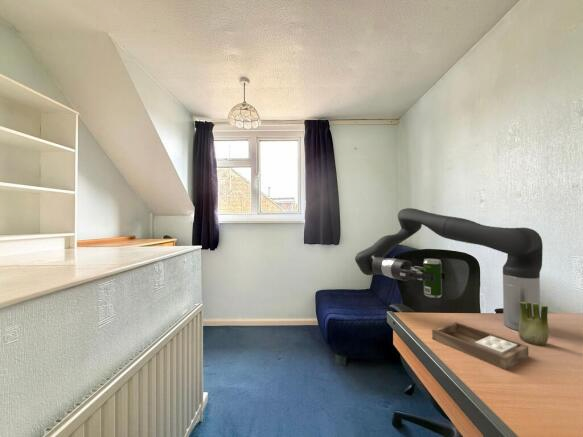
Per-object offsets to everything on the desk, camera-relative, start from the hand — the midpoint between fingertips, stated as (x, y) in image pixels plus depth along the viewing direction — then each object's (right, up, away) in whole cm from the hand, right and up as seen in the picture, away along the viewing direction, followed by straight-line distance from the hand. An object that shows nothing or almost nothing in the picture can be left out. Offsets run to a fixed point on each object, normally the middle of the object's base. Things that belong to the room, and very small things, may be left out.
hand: (439, 277), depth 84 cm
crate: (+3, -17, -13) cm, 22 cm away
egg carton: (+5, -16, -17) cm, 24 cm away
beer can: (-1, -7, +2) cm, 7 cm away
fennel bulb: (+21, -17, -10) cm, 29 cm away
